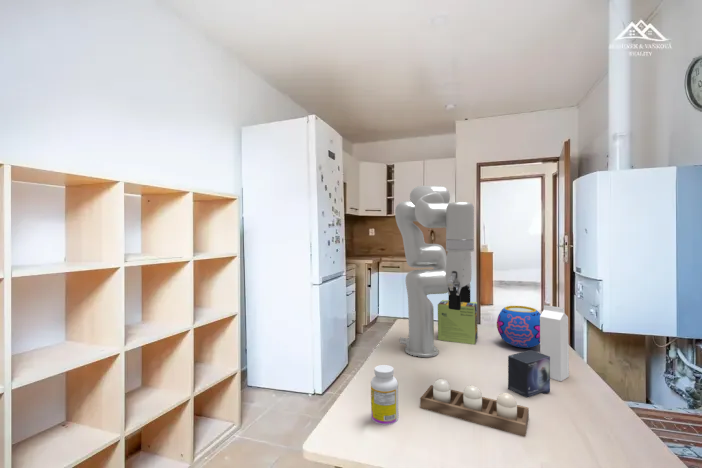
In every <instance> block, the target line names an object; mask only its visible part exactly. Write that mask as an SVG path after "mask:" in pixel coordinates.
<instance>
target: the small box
mask: <svg viewBox="0 0 702 468" xmlns="http://www.w3.org/2000/svg"><path fill="white" fill-rule="evenodd" d="M507 360H508V361H507V362H508V363H507V371H508V372H507V390H509V391H511V392H513V393H515V394H517V395H520V396H521V397H524V398H527V399H528V398H532V397H534V396H538V395H539V394H542V395H546V394H548V393H551V378H550V356H547V355H544V354H541V353H540V352H538V351H535V350H532V349H530V350H525V351H521V352H518V353H513V354H510V355H509V354H508V356H507Z"/></svg>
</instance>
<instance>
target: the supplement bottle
mask: <svg viewBox="0 0 702 468" xmlns="http://www.w3.org/2000/svg"><path fill="white" fill-rule="evenodd" d="M394 374H395V373H394V367H393V366H391V365H387V364H379V365H377V366H375V367H374V376H373V377H372V378H371V381H370V403H371V406H370V407H371V411H370V412H371V414H370V415H371V421H373V423H374V422H375V423H376V424H378V425H383V426H389V425H393V424H396V423H397V422H398V421H399V384H398V380H397V378H396V377H395V376H394Z"/></svg>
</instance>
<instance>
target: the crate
mask: <svg viewBox="0 0 702 468" xmlns="http://www.w3.org/2000/svg"><path fill="white" fill-rule="evenodd" d="M450 391H451V404H448V403H444V402H440V401H437V400H433V385H432V384H431V385H429V387H428V388H427V389H426V390H425V392H424V393H423V394H422V395H421V396H420V398H419V399H420V400H419V401H420V406H419V408H420V409H423V410H427V411H431V412H434V413H439V414H442V415H446V416H449V417H453V418H456V419H460V420H464V421H466V422H472V423H475V424H477V425H482V426H486V427H488V428H493V429H496V430H500V431H504V432H508V433H512V434H515V435H518V436H523V437H524V438H525V437H526V436H527V431H528V425H529V419H530V415H529V414H530V413H529V411H530V410H529V408H530V407H528V406H523V405H521V404H520V405H519V404H517V421H515V420H511V419H507V418H503V417H499V416H497V399H494V398H489V397H484V396H482V412H480V411H476V410H472V409H468V408H464V407H463V392H464V391H460V390H459V391H458V390H455V389H451V388H450Z"/></svg>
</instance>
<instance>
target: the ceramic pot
mask: <svg viewBox="0 0 702 468" xmlns="http://www.w3.org/2000/svg"><path fill="white" fill-rule="evenodd" d="M541 314H542V313H540V312H539V311H538V310H537V309H536V308H534V307H530V306H525V305H524V306H523V305H507V306H505V307H503V308H502V309H501V310H500V312H499V314H498V315H497V318H496V328H497V332H498V333H499V336H500V337H501V339H502V340H503V341H504V342H506V344H509V345H511V346H513V347H516V348H519V349H526V348H527V349H528V348H534V347H535V346H538V345H540V315H541Z"/></svg>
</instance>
